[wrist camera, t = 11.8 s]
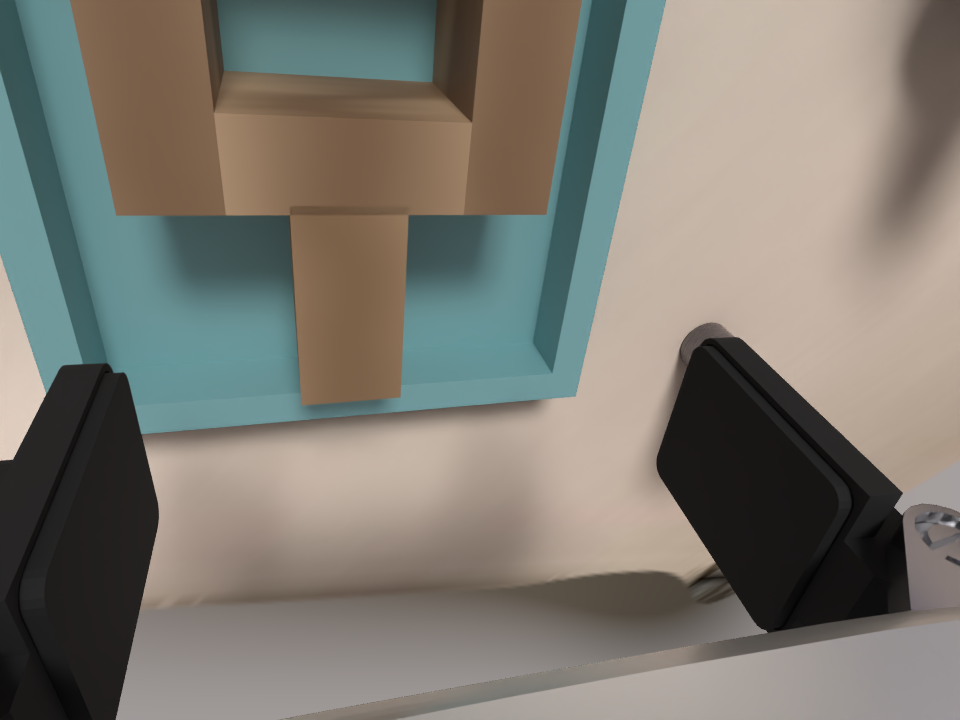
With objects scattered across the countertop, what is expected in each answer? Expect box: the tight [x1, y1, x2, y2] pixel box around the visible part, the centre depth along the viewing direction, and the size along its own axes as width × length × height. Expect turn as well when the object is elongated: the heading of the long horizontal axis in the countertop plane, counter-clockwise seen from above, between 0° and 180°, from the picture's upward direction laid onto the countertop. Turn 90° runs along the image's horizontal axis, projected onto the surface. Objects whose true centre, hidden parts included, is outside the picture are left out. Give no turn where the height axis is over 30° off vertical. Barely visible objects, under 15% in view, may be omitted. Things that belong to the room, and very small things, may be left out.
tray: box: [0, 0, 666, 434], centre depth 15 cm, size 15×20×2 cm
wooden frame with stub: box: [70, 0, 582, 405], centre depth 14 cm, size 9×14×4 cm, turn 174°
